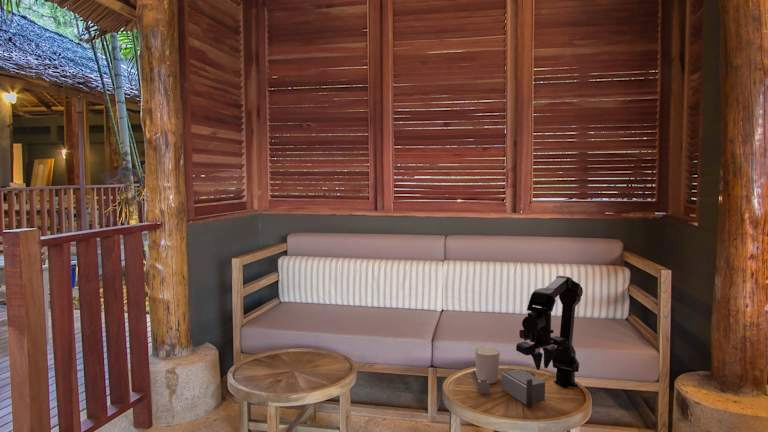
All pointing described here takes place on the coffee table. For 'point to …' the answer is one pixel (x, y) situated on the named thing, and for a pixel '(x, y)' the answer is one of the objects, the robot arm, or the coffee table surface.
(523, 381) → the block
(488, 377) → the candle holder
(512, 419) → the coffee table surface
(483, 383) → the lighter
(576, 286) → the robot arm
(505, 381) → the side door
